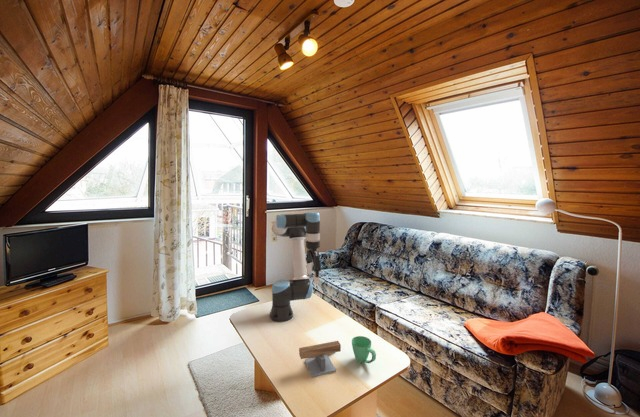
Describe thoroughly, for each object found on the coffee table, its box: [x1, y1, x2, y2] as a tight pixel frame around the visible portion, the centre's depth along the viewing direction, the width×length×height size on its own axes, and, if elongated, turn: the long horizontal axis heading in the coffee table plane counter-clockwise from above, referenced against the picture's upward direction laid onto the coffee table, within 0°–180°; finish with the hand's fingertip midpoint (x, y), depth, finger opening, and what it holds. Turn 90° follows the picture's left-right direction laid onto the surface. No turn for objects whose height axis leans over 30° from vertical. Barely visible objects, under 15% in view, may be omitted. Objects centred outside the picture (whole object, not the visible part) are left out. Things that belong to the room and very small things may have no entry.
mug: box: [351, 335, 377, 364], centre depth 143 cm, size 15×10×10 cm
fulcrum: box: [304, 354, 337, 378], centre depth 140 cm, size 12×12×7 cm
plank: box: [298, 340, 342, 360], centre depth 140 cm, size 4×20×4 cm, turn 108°
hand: (313, 278), depth 158 cm, fingers open, 13 cm apart
